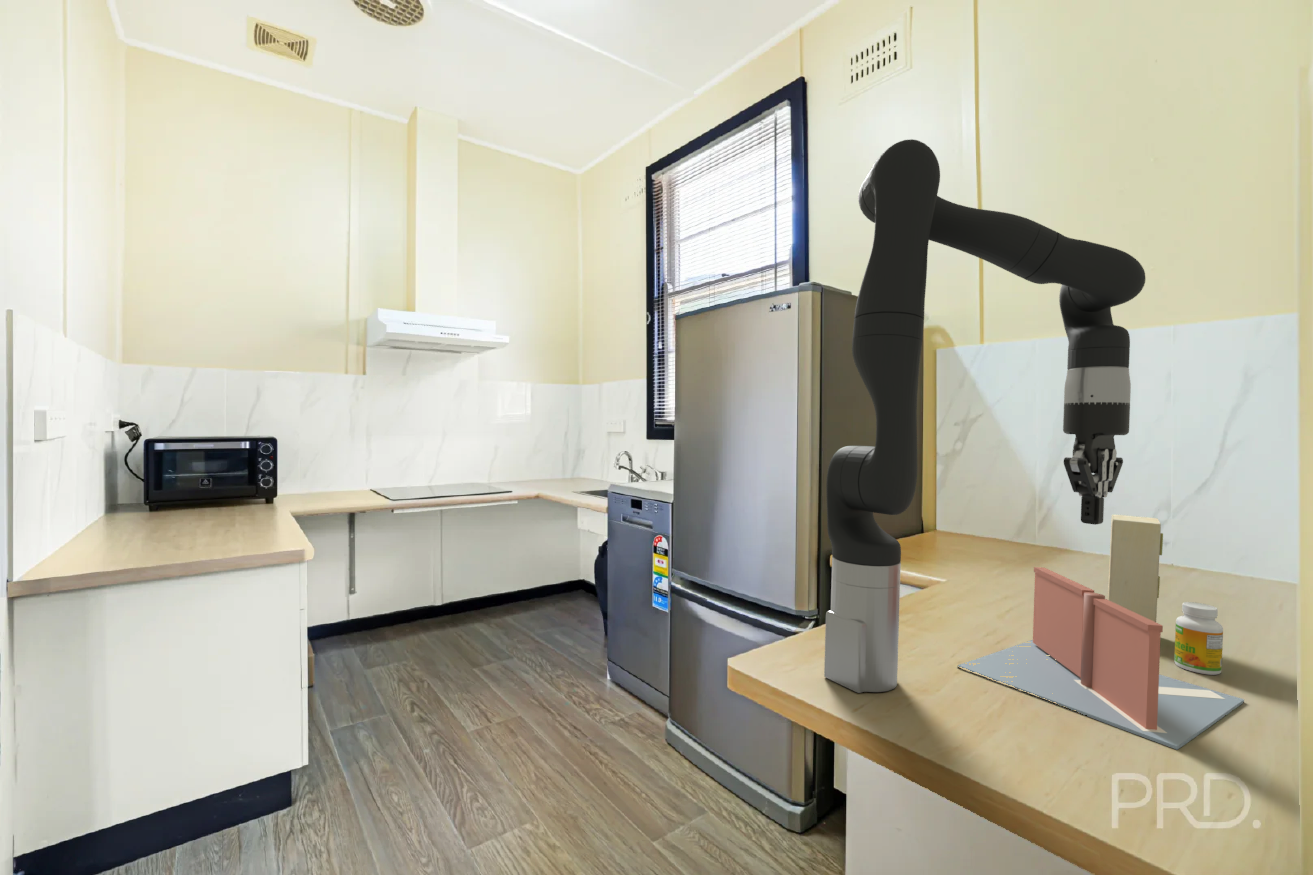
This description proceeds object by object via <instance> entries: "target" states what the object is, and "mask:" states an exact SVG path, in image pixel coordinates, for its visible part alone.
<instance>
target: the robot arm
mask: <svg viewBox="0 0 1313 875" xmlns="http://www.w3.org/2000/svg"><path fill="white" fill-rule="evenodd" d="M940 183H941V169H940V164H939V161H938V158H937V156H936V154H935V152H934V150H932V149H931V147H929V146H928V145H927V144H926V143H924V142H923V141H920V140H917V139H912V138H911V139H904V140H901V141H900V140H899V141H898V142H896V143H894V144H892V145H890V147H888V148H887V149H885V151H883V152H882V153H881V155H880V156H879V157H878V158H877V159H876V161H875V162H874V163H873V165H872V166H871V168H870V170H869V171H868V173H867V174H866V176H865V178H864V180H863V182H862V183H861V185H860V188H859V191H858V196H857V197H858V198H857V199H858V205H859V208H860V210H861V212H862V214H863V215H864V216H865V217H866V218H867V219H868V220H869V221H870V222H872V223H873V224H874V235H873V241H872V248H871V252H870V255H869V258H868V262H867V264H866V268H865V272H864V275H863V278H862V282H861V285H860V289H859V291H858V292H859V293H858V296H857V300H856V303H855V309H854V316H853V318H854V319H853V329H852V342H851V346H852V347H851V351H852V352H851V354H852V358H853V362H854V364H855V367H856V370H857V372H858V373H859V374H858V375H859V376H860V378H861V379H862V382H863V384H864V386H865V387H866V390H867V392H868V393H869V394H868V395H869V397H870V398H871V400H872V403H873V406H874V411H875V412H874V413H875V420H876V421H875V426H876V427H875V428H876V430H875V445H873V446H871V445H847V446H843V447H841V448H839V449H838V450H837V451H835V453H834V454H833V456H832V457H831V459H830V461H829V465H828V468H827V472H826V473H827V475H826V487H825V488H826V521H827V522H826V523H827V524H826V525H827V528H826V529H827V534H828V538H829V541H830V544H831V582H830V584H831V585H830V586H831V589H830V610H827V611H826V613H825V630H824V632H825V636H824V637H825V638H824V671H823V672H824V673H823V675H824V676H823V677H825V678H827V680H828V679H829V681H832V682H834V683H837V684H838V685H840V686H843V687H844V688H847V689H849V690H851V691H853V692H855V693H858V694H861V693H863V692H864V693H865V692H866V693H867V692H869V693H882V692H889V691H891V690H894V689H895V688H896V687H897V686H898V671H899V670H898V666H899V631H900V630H899V629H900V624H899V623H900V599H901V598H900V597H901V595H900V594H901V566H902V564H901V562H902V560H901V559H902V548H901V543H900V542H899V540H897V539H896V538H895V537H893V536H892V535H890V534H889V533H887V532H886V531H885V530H884V529H883V528H881V526H880V525H879V524H878V523H877V521H876V519H875V517H874V513H876V514H882V515H889V516H897V515H900V514H902V513H904V512H905V511H906V510H907V509H908V508H909V507H910V505H911V503H912V501H913V499H914V497H915V493H916V487H917V479H918V431H917V429H918V428H917V427H918V426H917V425H918V424H917V423H918V422H917V418H918V417H917V416H918V413H917V412H918V408H917V407H918V387H919V376H920V373H919V372H920V364H921V363H920V362H921V354H922V347H923V337H924V336H923V335H924V325H925V324H924V323H925V306H926V304H925V303H926V302H925V300H926V289H927V288H926V287H927V274H928V272H927V271H928V250H929V243H930V242H929V241H931V242H935V243H937V244H941V245H943V246H947V247H950V248H952V249H956V250H958V251H961V252H964V253H965V254H968V255H971V256H974V257H976V258H978V259H981V260H984V261H985V262H988V263H989V264H993V265H995V266H996V267H999V268H1000V269H1002V270H1005V271H1007V272H1009V273H1011V274H1013V275H1014V276H1017V277H1019V278H1022V279H1023V280H1025V281H1027V282H1030V283H1033V284H1038V285H1045V284H1058V285H1061V286H1060V290H1059V297H1058V299H1059V309H1060V313H1061V318H1062V322H1063V327H1064V331H1065V334H1066V337H1067V340H1068V346H1067V348H1068V349H1067V371H1066V378H1065V381H1064V390H1063V392H1064V394H1063V395H1064V396H1063V420H1062V422H1063V423H1062V424H1063V425H1062V430H1063V433H1064V434H1066V435H1075V439H1074V442H1073V446H1072V447H1073V448H1072V457H1068V456H1067V457H1064V458H1063V465H1064V469H1065V471H1066V474H1067V477H1068V480H1069V483H1070V485H1071V488H1072V491H1073V493H1078V495H1079V497H1081V501H1080V503H1081V504H1080V505H1081V506H1080V522H1081V523H1083V524H1086V525H1087V524H1088V525H1101V524H1103V523H1104V514H1105V513H1104V509H1105V508H1104V507H1105V498H1107V496H1108V494H1109V493H1113V491H1114V488H1115V485H1116V483H1117V480H1118V478H1119V475H1120V472H1121V469H1122V467H1123V463H1124V458H1123V457H1117V449H1116V443H1115V436H1126V435H1128V434H1129V433H1130V419H1131V418H1130V417H1131V416H1130V415H1131V394H1132V393H1131V385H1132V384H1131V376H1130V351H1131V349H1130V348H1131V339H1130V333H1129V331H1128V329H1126V328H1125V327H1123V326H1121V325H1115V324H1114V322H1113V317H1112V309H1111V308H1112V307H1116V306H1120V305H1122V304H1125V303H1127V302H1128V303H1129V301H1131V300H1133V299H1134V298H1136V297H1137V296H1138V295H1139V294H1140V293H1141V292H1142V290H1143V289H1144V287H1145V283H1146V271H1145V269H1144V266H1143V265H1142V264H1141V263H1140V262H1139V260H1137V259H1136V258H1135V256H1133V255H1131V254H1129V253H1127V252H1125V251H1124V250H1122V249H1119V248H1116V247H1115V248H1114V247H1112V246H1108V245H1105V244H1100V243H1096V242H1091V241H1086V240H1083V239H1076V238H1071V237H1067V236H1065V235H1064V234H1062V233H1060V232H1058V231H1056V230H1054V229H1052V228H1049V227H1047V226H1045V225H1043V224H1041V223H1039V222H1036V221H1034V220H1033V219H1029V218H1027V217H1024V216H1021V215H1017V214H1013V213H1008V212H1005V211H997V210H989V209H984V208H983V209H982V208H976V207H970V206H966V205H961V204H957V203H956V202H952V201H950V200H948V199H947V200H946V199H944V198H943V197H940V196H939V195H938V192H939V188H940Z"/></svg>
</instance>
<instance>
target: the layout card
mask: <svg viewBox="0 0 1313 875" xmlns="http://www.w3.org/2000/svg"><path fill="white" fill-rule="evenodd" d="M1027 642H1031V643H1025V642H1022V643H1019V644H1016V645H1013V646H1010V647H1007V648H1004V649H1002V650H999V651H995V652H993V653H990V654H986V655H984V656H981V657H979V658H975V659H976V660H975V659H972V660H968V661H967V662H963V663H961V664H958V665H957V667H958V666H959V667H962V668H966V669H968V670H970V671H972V672H977V673H979V674H981V675H984V676H987V677H989V678H992V679H993V680H996V681H1001V682H1003V681H1004V682H1003V683H1006V684H1008V685H1012V686H1014V687H1015V688H1017V689H1021V690H1023V691H1026V692H1029V693H1033V694H1035V695H1037V696H1039V697H1041V698H1045V699H1047V700H1050V701H1052V702H1056V703H1057V704H1059V705H1061V706H1065V707H1067V708H1069V709H1071V710H1070V711H1072V710H1076V711H1077V712H1079V713H1078V714H1080V713H1081V714H1080V715H1082V714H1083V715H1082V716H1085V715H1087V716H1086V717H1089V718H1091V719H1094V720H1096V721H1099V722H1101V723H1104V724H1106V725H1110V726H1112V727H1115V728H1118V729H1120V730H1123V731H1126V732H1128V733H1131V734H1133V735H1136V736H1139V737H1141V738H1145V739H1147V740H1150V741H1152V742H1155V743H1156V744H1157V743H1158V744H1160V745H1164V746H1165V747H1169V748H1171V749H1174V750H1176V751H1177V750H1180V749H1181V748H1182V747H1184V746H1185V745H1186V744H1188V743H1189V742H1190V741H1192V740H1193V739H1195V738H1196V737H1198V736H1199V735H1201V734H1202V733H1203V732H1205V731H1206V730H1207V729H1208V728H1210V727H1212V726H1213V725H1214V724H1215V723H1217V722H1219V721H1220V720H1221V719H1223V718H1224V717H1226V716H1228V714H1230V713H1231V712H1233V711H1234V710H1235V709H1237V708H1239V707H1240V706H1241V705H1243V704H1244V703H1245V699H1244V698H1240V697H1237V696H1234V695H1230V694H1227V693H1224V692H1220V691H1217V690H1215V689H1214V690H1213V689H1211V688H1207V687H1203V686H1200V685H1197V684H1194V683H1190V682H1186V681H1183V680H1179V679H1176V678H1173V677H1169V676H1166V675H1163V674H1160V673H1159V689H1158V715H1157V730H1154V729H1145V728H1144V727H1143V726H1141V725H1140V724H1139V723H1137V722H1136V721H1135V720H1133V719H1132V718H1131V717H1129V716H1128V715H1127V714H1125V713H1124V712H1123V711H1121V710H1120V709H1119V708H1117V707H1116V706H1114V705H1113V704H1112V703H1110V702H1109V701H1108V700H1106V699H1105V698H1104V697H1102V696H1101V695H1100V694H1098V693H1097V692H1096V691H1094V690H1093V689H1092V688H1089V687H1086V686H1084V685H1082V684H1081V678H1080V677H1079V676H1078V675H1076V674H1075V673H1073V672H1072V671H1071V670H1069V669H1068V668H1067V667H1065V666H1064V665H1063V664H1061V663H1060V662H1059V661H1057V660H1055V659H1054V658H1053V657H1052V656H1046V655H1049V654H1048V653H1046V652H1045V651H1044V650H1042V649H1041V648H1040V647H1038V646H1037V645H1035V644H1034V643H1033V639H1031V640H1028V641H1027ZM1017 646H1018V647H1017ZM1019 646H1031V647H1019ZM1012 651H1013V652H1012ZM1009 655H1010V656H1009ZM1011 655H1014V656H1011ZM1008 659H1011V660H1008ZM1012 659H1014V660H1012ZM1017 659H1018V660H1017ZM1026 659H1027V660H1026ZM1046 659H1048V660H1046ZM965 663H967V664H965ZM969 663H971V665H969ZM972 663H976V665H974V666H973V664H972ZM977 663H980V664H977ZM1005 663H1007V664H1005ZM1009 663H1014V664H1010V665H1009ZM1017 663H1018V664H1017ZM1026 663H1027V664H1026ZM1056 663H1057V664H1056ZM1005 672H1006V673H1005ZM1009 672H1011V673H1009ZM1000 676H1014V677H1013V678H1009V677H1008V678H1006V677H1000ZM1015 676H1017V677H1015ZM1005 681H1006V682H1005ZM1007 681H1008V682H1007ZM1011 681H1013V682H1011ZM1052 693H1053V694H1052ZM1243 702H1244V703H1243ZM1061 706H1060V707H1061ZM1069 709H1068V710H1069ZM1232 710H1233V711H1232ZM1077 712H1076V713H1077ZM1225 715H1226V716H1225Z"/></svg>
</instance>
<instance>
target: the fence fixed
mask: <svg viewBox="0 0 1313 875" xmlns="http://www.w3.org/2000/svg"><path fill="white" fill-rule="evenodd" d="M1163 627H1164V625H1162V624H1160V623H1159V622H1157V621H1156V622H1154V621H1152V620H1150V619H1148V618H1145V617H1143V616H1141V615H1139V614H1137V613H1135V612H1133V611H1131V610H1128V609H1126V608H1124V607H1122V606H1120V605H1118V604H1116V603H1113V602H1111V601H1109V600H1108V598H1106V595H1104V594H1101V593H1099V592H1098V593H1097V592H1094V593H1092V592H1085V593H1084V603H1083V631H1082V660H1081V684H1082V685H1084V686H1086V687H1089V688H1092V689H1093V690H1094V691H1096V692H1097V693H1098V694H1100V695H1101V696H1102V697H1104V698H1105V699H1106V700H1108V701H1109V702H1110V703H1112V704H1113V705H1114V706H1116V707H1117V708H1119V709H1120V710H1121V711H1123V712H1124V713H1125V714H1127V715H1128V716H1129V717H1131V718H1132V719H1133V720H1135V721H1136V722H1137V723H1139V724H1140V725H1141V726H1143V727H1144V728H1145V729H1154V730H1157V715H1158V689H1159V674H1160V659H1161V657H1160V656H1161V636H1162V635H1161V633H1163Z"/></svg>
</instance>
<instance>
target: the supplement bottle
mask: <svg viewBox="0 0 1313 875" xmlns="http://www.w3.org/2000/svg"><path fill="white" fill-rule="evenodd" d="M1181 609H1182V610H1181V612H1182V613H1183V615H1180V616H1177V618H1176V619H1175V630H1174V631H1175V636H1174V655H1173V656H1174V658H1173V661H1174V664H1175V665H1176V666H1177V667H1179V668H1181V669H1183V670H1186V671H1189V672H1193V673H1196V674H1202V675H1209V676H1215V675H1220V674H1221V673H1222V668H1223V667H1222V666H1223V642H1224V627H1223V625H1222V624H1221V623H1220V622H1219V621H1216V619H1217V618H1218V608H1217V607H1216V606H1214V605H1210V604H1206V603H1202V602H1196V601H1195V602H1194V601H1183V602H1182V606H1181Z"/></svg>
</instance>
